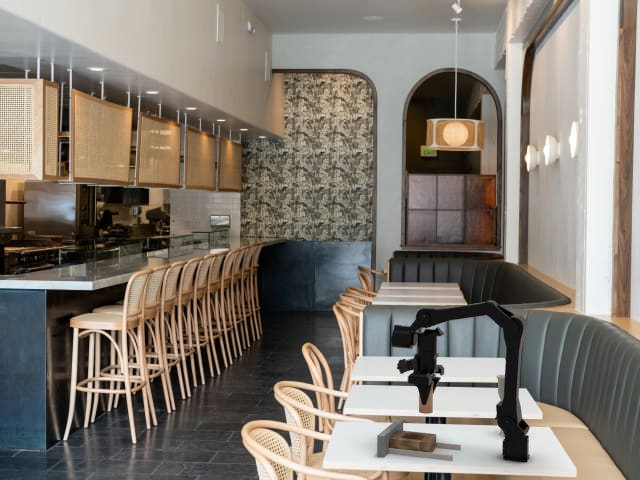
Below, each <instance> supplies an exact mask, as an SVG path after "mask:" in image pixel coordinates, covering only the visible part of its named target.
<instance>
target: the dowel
mask: <svg viewBox="0 0 640 480" xmlns="http://www.w3.org/2000/svg"><path fill="white" fill-rule="evenodd" d="M432 382H433V381H432ZM433 401H434V394H433V387H432V390H431V393H430V395H429V398H428V401H427V403H426V405H422V403H421V399H420V395H419V394H418V413H420V414H425V415H427V414H428V415H429V414H433V412H434V411H433V410H434V408H433V407H434V402H433Z"/></svg>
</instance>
